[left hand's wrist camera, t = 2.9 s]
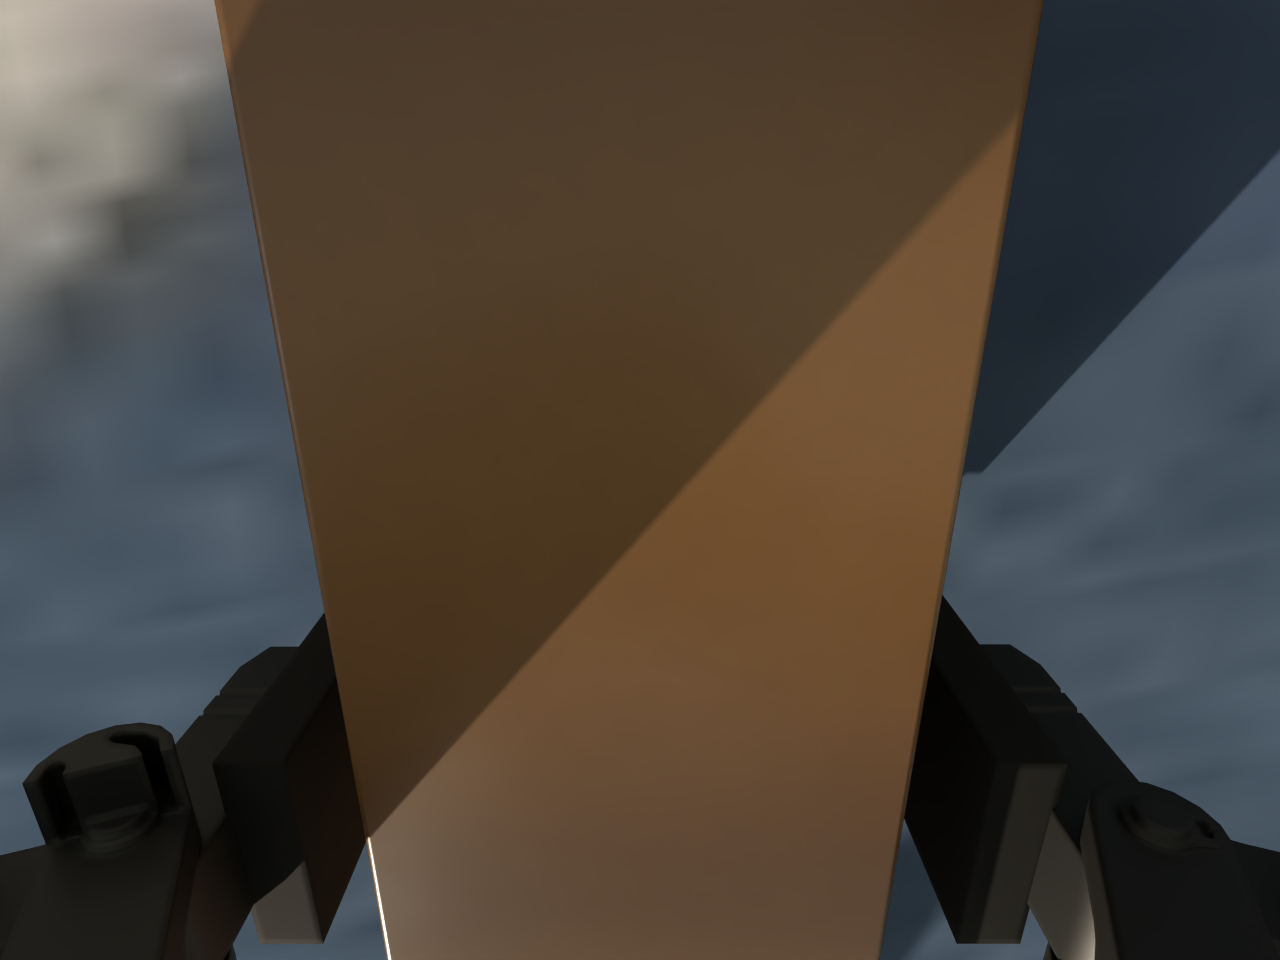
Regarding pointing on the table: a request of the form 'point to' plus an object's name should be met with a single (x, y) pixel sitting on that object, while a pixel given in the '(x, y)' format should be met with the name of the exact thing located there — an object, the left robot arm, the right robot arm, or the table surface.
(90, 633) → the table surface
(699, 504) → the bar
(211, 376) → the table surface
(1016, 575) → the table surface
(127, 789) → the left robot arm
